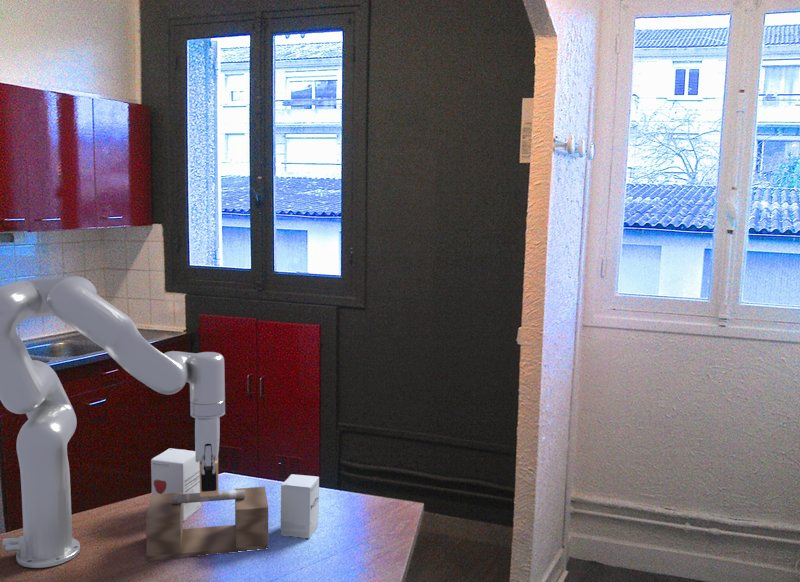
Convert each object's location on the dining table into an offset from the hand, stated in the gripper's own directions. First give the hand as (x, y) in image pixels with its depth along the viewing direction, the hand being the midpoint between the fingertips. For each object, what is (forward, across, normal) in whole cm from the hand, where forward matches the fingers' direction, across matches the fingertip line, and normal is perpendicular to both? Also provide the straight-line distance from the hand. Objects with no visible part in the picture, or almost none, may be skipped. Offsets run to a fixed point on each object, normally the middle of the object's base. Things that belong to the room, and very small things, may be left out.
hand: (209, 484), depth 166 cm
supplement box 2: (+14, -2, +21) cm, 25 cm away
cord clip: (+2, 0, 0) cm, 2 cm away
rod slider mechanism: (+14, 0, 0) cm, 14 cm away
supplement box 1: (+14, -18, -8) cm, 24 cm away
